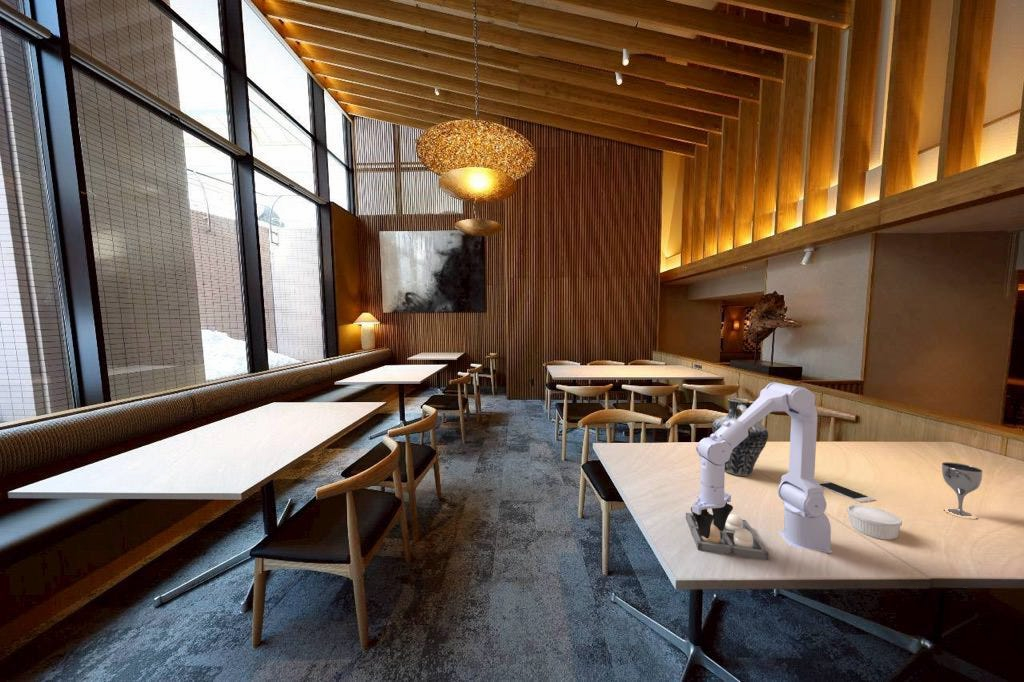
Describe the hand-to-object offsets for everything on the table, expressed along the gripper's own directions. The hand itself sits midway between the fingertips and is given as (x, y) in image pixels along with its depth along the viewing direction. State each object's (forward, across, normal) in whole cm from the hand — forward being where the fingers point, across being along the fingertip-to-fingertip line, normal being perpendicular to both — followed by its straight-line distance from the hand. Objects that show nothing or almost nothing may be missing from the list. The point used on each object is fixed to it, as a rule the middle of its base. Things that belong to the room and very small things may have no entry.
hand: (711, 532), depth 98 cm
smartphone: (+4, -72, +4) cm, 72 cm away
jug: (+4, -58, -24) cm, 63 cm away
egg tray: (+3, -5, 0) cm, 6 cm away
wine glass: (+4, -84, +29) cm, 89 cm away
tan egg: (+3, 0, 0) cm, 3 cm away
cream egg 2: (+3, -11, 0) cm, 11 cm away
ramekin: (+4, -47, +19) cm, 51 cm away
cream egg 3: (+3, -5, +5) cm, 8 cm away
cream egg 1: (+3, -5, -5) cm, 8 cm away
